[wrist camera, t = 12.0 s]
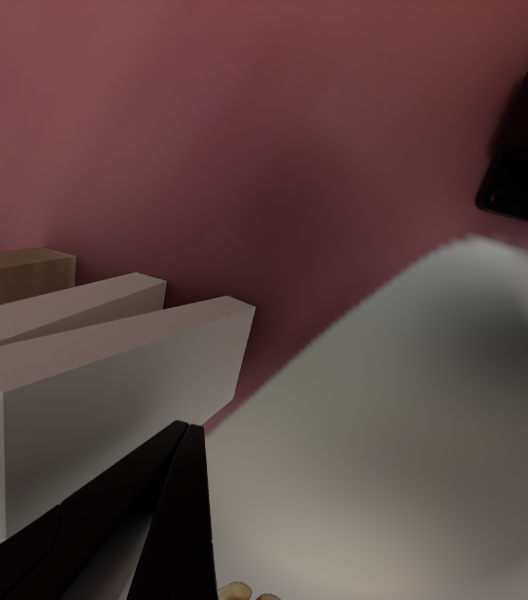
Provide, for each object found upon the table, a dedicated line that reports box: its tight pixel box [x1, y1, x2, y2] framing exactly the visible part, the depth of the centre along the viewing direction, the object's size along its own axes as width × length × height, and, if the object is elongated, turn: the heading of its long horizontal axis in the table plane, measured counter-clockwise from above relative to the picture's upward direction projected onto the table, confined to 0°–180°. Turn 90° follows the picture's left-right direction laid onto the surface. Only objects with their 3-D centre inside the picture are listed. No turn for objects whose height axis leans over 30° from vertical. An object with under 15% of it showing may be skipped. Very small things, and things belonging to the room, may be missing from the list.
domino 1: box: [0, 272, 167, 346], centre depth 10 cm, size 2×5×9 cm, turn 166°
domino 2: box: [0, 296, 256, 543], centre depth 10 cm, size 2×5×9 cm, turn 166°
